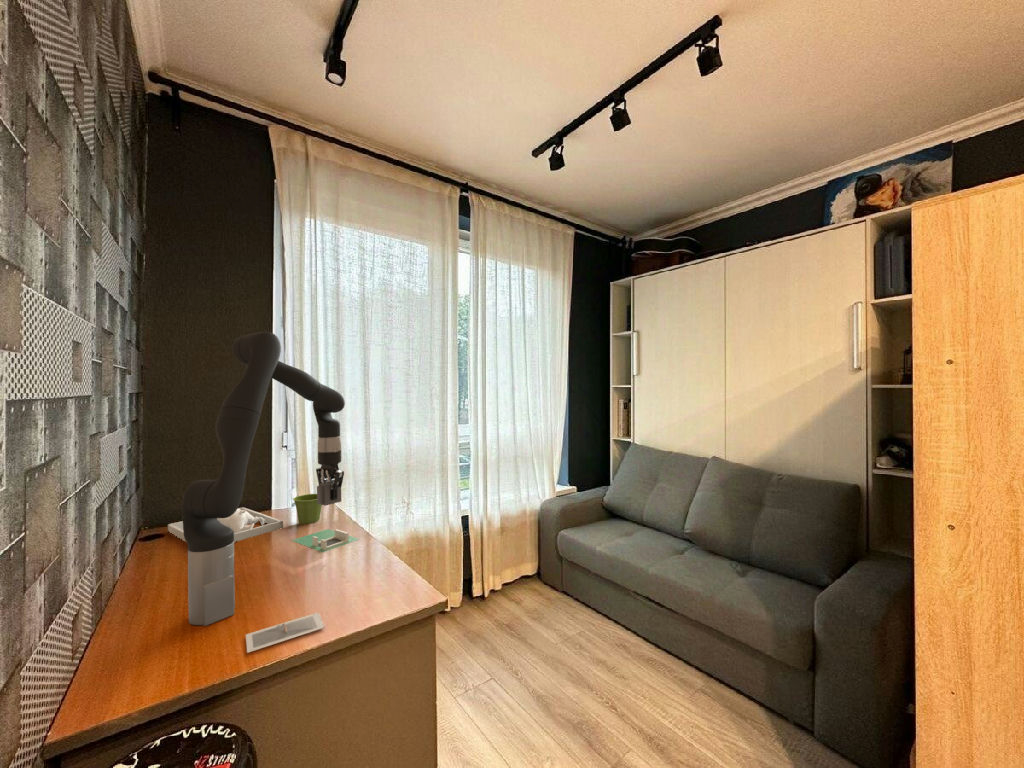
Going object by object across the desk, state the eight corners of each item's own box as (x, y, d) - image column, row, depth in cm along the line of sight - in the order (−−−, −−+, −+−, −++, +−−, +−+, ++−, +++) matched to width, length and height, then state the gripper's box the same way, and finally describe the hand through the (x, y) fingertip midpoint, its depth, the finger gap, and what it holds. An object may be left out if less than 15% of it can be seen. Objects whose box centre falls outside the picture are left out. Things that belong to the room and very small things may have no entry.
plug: (341, 501, 144) (341, 481, 144) (321, 506, 138) (321, 485, 139) (334, 499, 147) (334, 480, 147) (315, 504, 141) (315, 484, 141)
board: (359, 543, 147) (359, 530, 147) (322, 557, 135) (322, 543, 135) (328, 532, 158) (327, 521, 158) (291, 544, 147) (291, 531, 147)
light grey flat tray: (283, 528, 164) (283, 520, 164) (202, 551, 142) (202, 542, 142) (243, 514, 184) (243, 507, 184) (167, 532, 162) (167, 524, 162)
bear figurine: (265, 533, 170) (216, 521, 168) (272, 503, 168) (223, 491, 167) (240, 555, 153) (185, 542, 151) (248, 522, 151) (193, 508, 150)
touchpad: (325, 632, 94) (324, 622, 94) (247, 658, 85) (247, 647, 85) (318, 616, 100) (318, 607, 100) (245, 639, 92) (245, 629, 92)
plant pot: (327, 525, 167) (327, 497, 167) (295, 531, 160) (294, 502, 160) (322, 517, 177) (322, 491, 177) (291, 523, 170) (291, 496, 170)
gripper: (308, 449, 144) (308, 498, 144) (331, 452, 136) (331, 504, 136) (328, 446, 150) (328, 493, 150) (351, 449, 142) (351, 499, 142)
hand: (330, 498), depth 143 cm, fingers closed on plug, 4 cm apart
